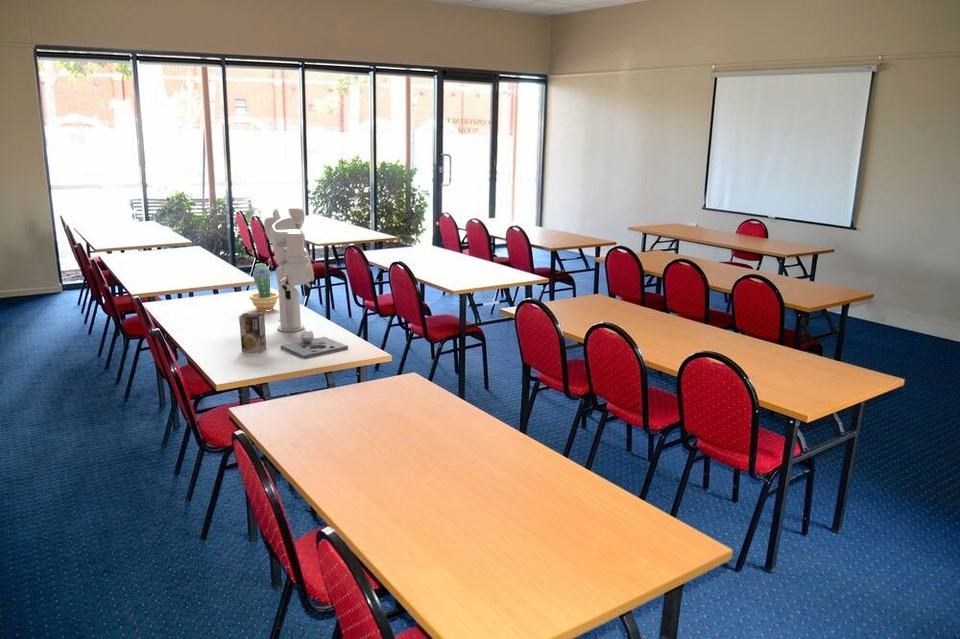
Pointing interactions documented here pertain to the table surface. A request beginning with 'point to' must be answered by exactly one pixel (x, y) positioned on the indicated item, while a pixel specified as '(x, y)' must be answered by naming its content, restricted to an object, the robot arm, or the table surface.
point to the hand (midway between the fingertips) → (297, 297)
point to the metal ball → (306, 336)
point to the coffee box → (252, 332)
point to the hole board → (309, 348)
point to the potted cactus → (263, 289)
